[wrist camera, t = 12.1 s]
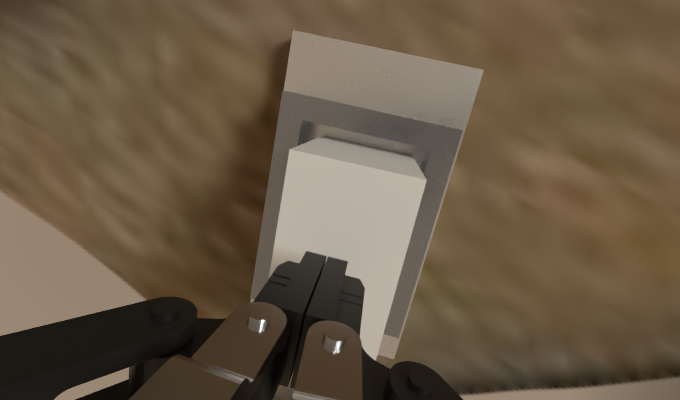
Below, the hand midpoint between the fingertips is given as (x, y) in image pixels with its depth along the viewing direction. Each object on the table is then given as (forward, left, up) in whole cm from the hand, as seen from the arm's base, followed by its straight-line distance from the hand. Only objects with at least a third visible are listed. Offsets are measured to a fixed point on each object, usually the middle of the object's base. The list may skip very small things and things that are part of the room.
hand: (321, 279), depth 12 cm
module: (0, 0, -8) cm, 8 cm away
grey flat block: (0, 0, -10) cm, 10 cm away
